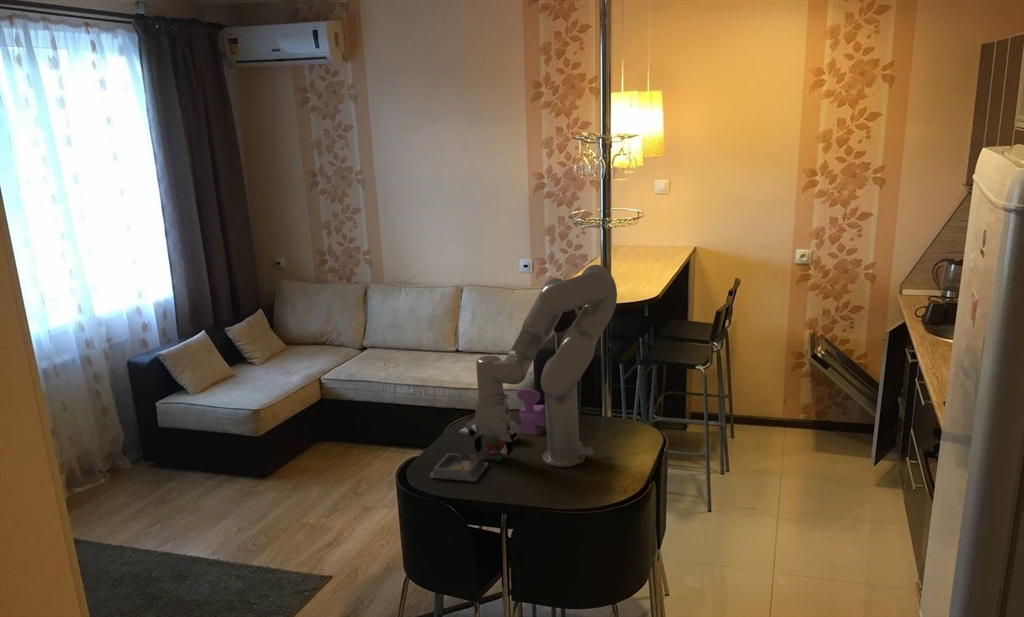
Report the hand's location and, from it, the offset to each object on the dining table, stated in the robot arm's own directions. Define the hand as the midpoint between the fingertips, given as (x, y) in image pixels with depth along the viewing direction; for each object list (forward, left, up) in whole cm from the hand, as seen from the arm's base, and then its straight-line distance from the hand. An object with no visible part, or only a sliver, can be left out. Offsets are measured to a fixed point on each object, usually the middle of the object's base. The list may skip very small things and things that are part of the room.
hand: (494, 451), depth 235 cm
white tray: (+7, +10, -2) cm, 13 cm away
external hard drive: (+13, -24, -3) cm, 27 cm away
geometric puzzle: (0, 0, -2) cm, 2 cm away
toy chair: (-5, -26, -3) cm, 26 cm away
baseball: (0, -15, -3) cm, 15 cm away
